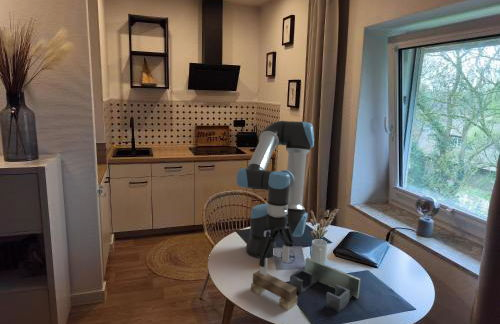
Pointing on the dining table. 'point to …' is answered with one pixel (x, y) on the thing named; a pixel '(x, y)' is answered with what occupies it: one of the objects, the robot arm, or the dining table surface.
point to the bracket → (327, 283)
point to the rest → (282, 302)
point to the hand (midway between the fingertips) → (274, 267)
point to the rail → (275, 286)
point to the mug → (319, 250)
